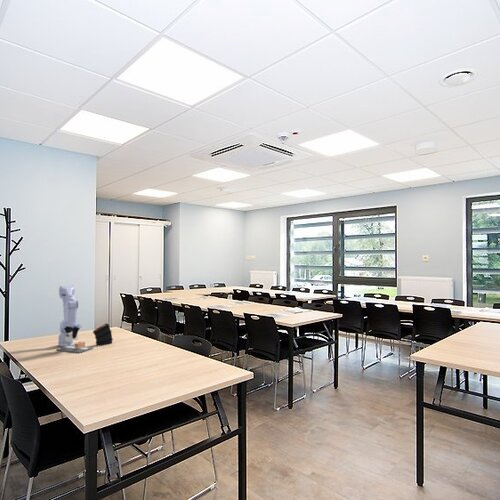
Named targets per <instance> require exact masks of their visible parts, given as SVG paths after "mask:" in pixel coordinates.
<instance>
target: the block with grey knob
mask: <svg viewBox="0 0 500 500" xmlns="http://www.w3.org/2000/svg"><path fill="white" fill-rule="evenodd" d="M74 344H75V345H74V346H75V349H80V348H83V347H86V342H85V341H79V342H75V343H74Z"/></svg>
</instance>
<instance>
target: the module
mask: <svg viewBox="0 0 500 500" xmlns="http://www.w3.org/2000/svg"><path fill="white" fill-rule="evenodd" d="M78 337H79V332H78V333H77V336H76V338H73V333H72V332H71V333H67V334H65V341H69V342H70V341H71V340H73V341H74V340H75V341H77V340H79V338H78Z"/></svg>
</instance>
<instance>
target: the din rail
mask: <svg viewBox="0 0 500 500" xmlns="http://www.w3.org/2000/svg"><path fill="white" fill-rule="evenodd" d="M91 350H94V347H91V346H90V347H88V346H85V347H83V348H80V349H75V345H72V346H70V344H65V345H61V346H60V348H57V349H56V351H57V352H65V353H75V354H81V353H85V352H88V351H91Z"/></svg>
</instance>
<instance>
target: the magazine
mask: <svg viewBox="0 0 500 500" xmlns="http://www.w3.org/2000/svg"><path fill="white" fill-rule="evenodd" d="M92 333H93V334H94V336H95V337H94V338H95V345H96V346H104V345H110V344H113V340H114V339H113V334H112V330H111V328H110V324H108V323H105V324H103V325H100V326H99V327H98V328H96V329H94V330H93V331H92Z"/></svg>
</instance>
